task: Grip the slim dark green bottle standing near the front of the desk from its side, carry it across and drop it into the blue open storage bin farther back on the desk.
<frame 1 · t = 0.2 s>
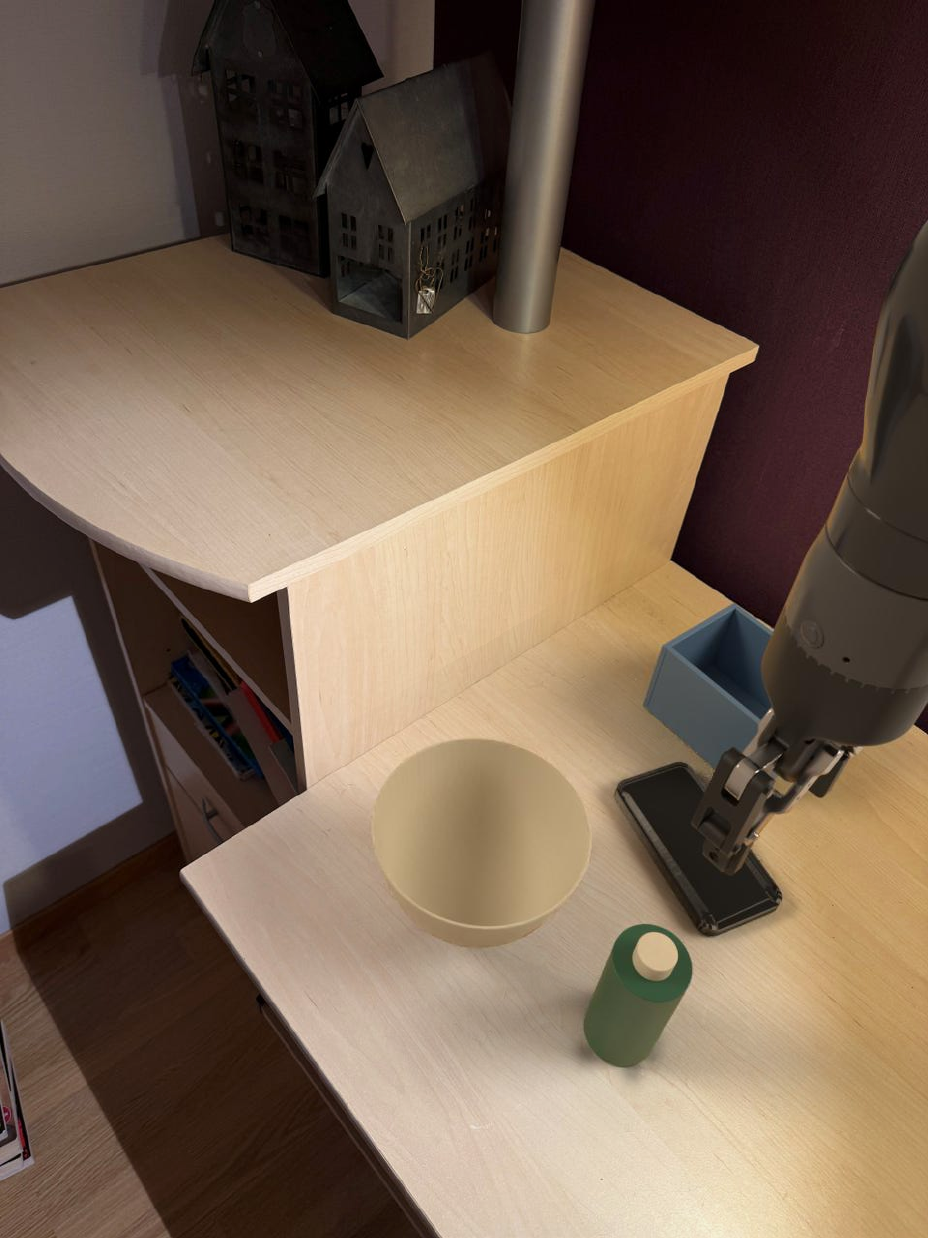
hand: (766, 821, 53), 23 cm above the table, tool pointing down, fingers open, 8 cm apart
bottle: (618, 1029, 66), on the table
phone: (692, 847, 77), on the table
bowl: (470, 894, 73), on the table
blue open storage bin: (728, 726, 87), on the table
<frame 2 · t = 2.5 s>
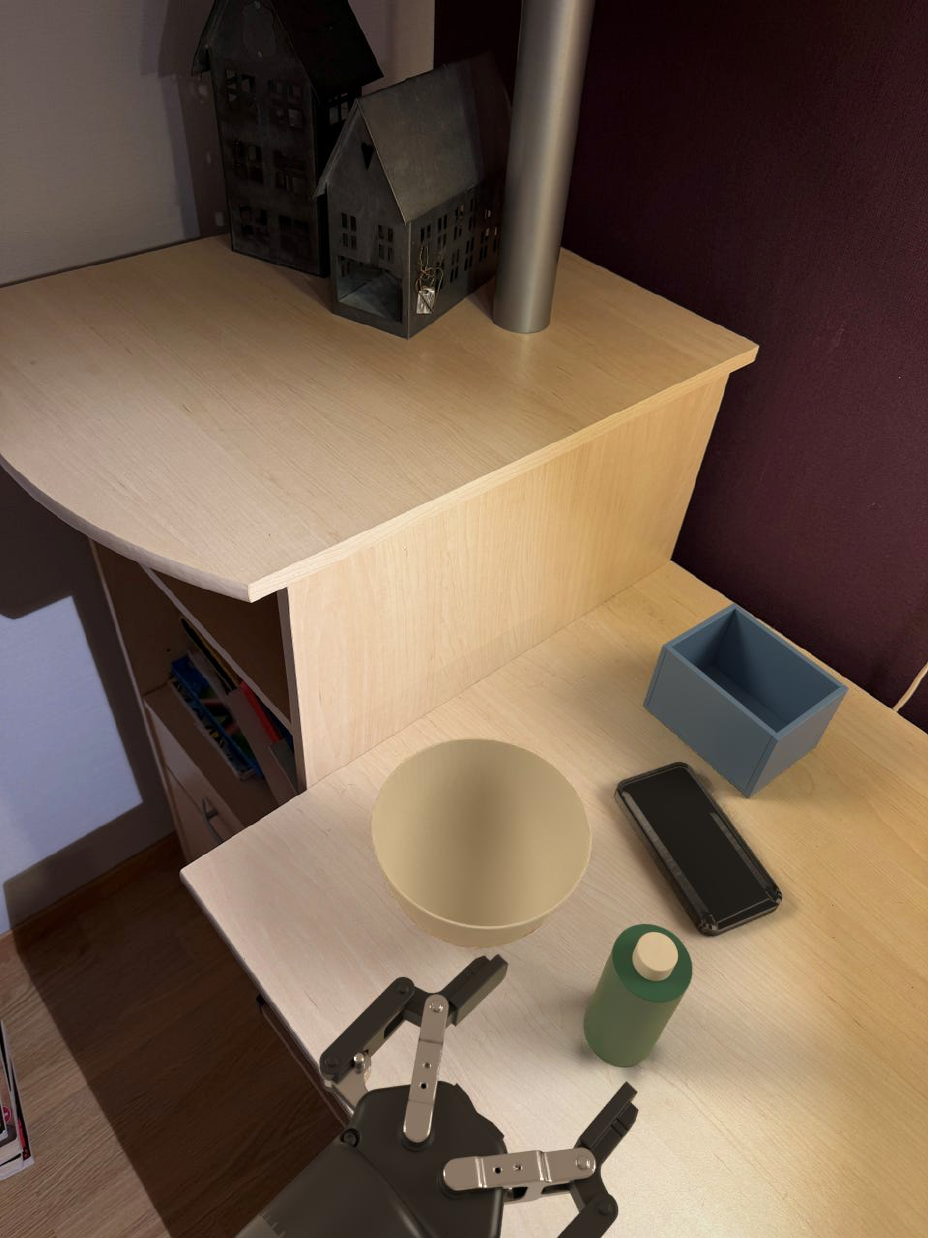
hand: (562, 1025, 46), 20 cm above the table, tool horizontal, fingers open, 8 cm apart
nothing on the table moved.
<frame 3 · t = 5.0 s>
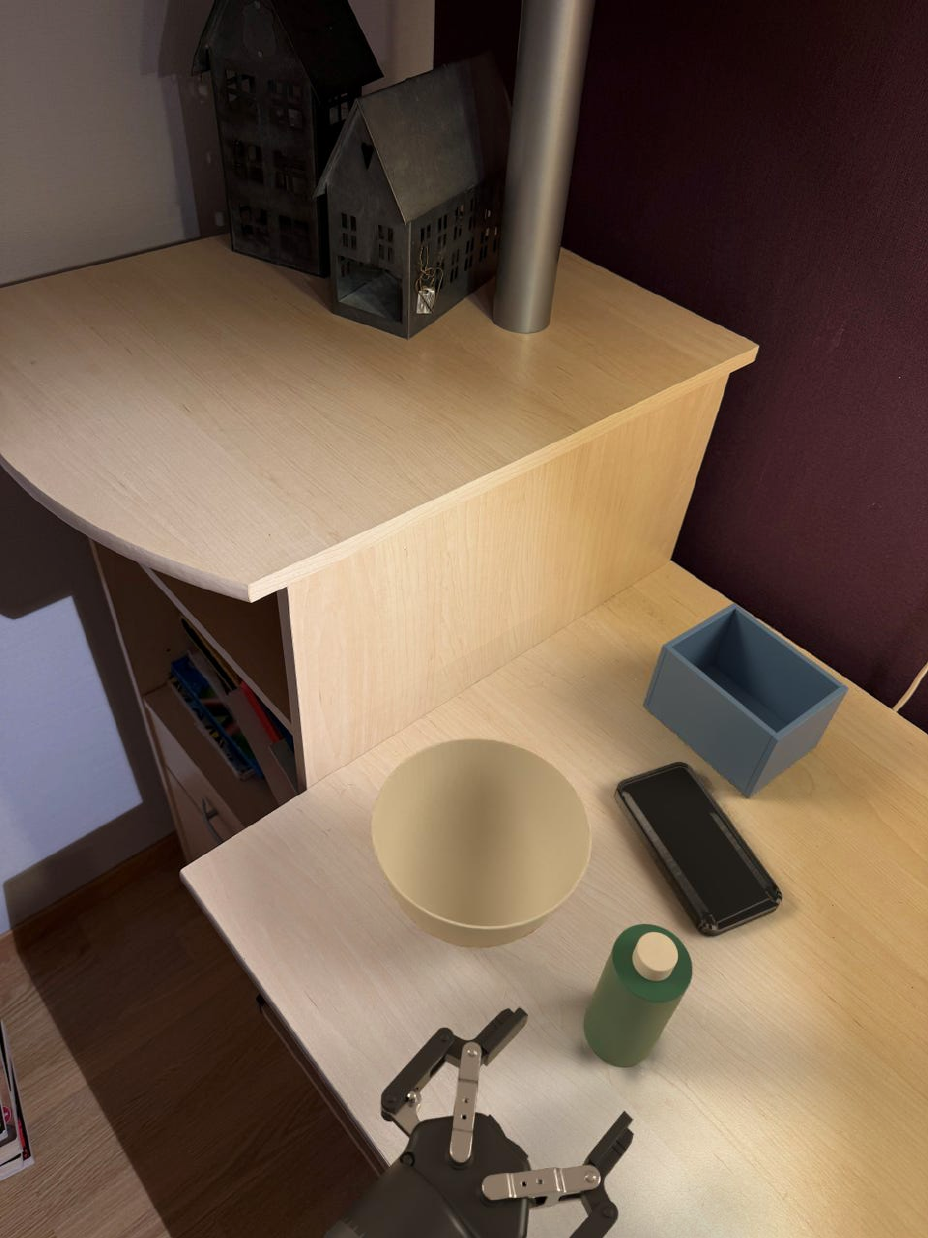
hand: (572, 1065, 57), 7 cm above the table, tool horizontal, fingers open, 8 cm apart
nothing on the table moved.
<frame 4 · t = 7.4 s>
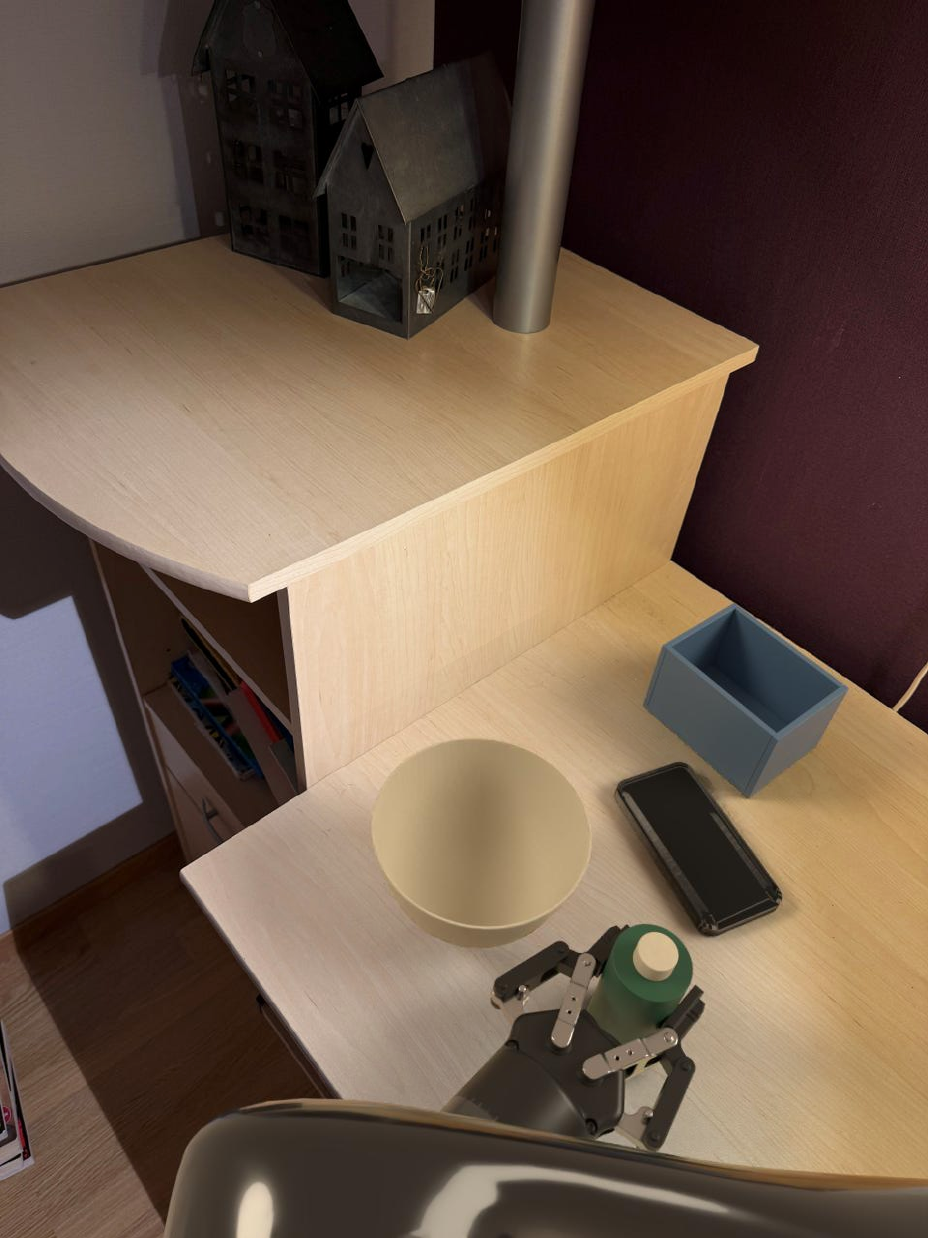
hand: (661, 962, 62), 7 cm above the table, tool horizontal, fingers closed on bottle, 5 cm apart
bottle: (618, 1029, 66), on the table, touching gripper
everything else where it was.
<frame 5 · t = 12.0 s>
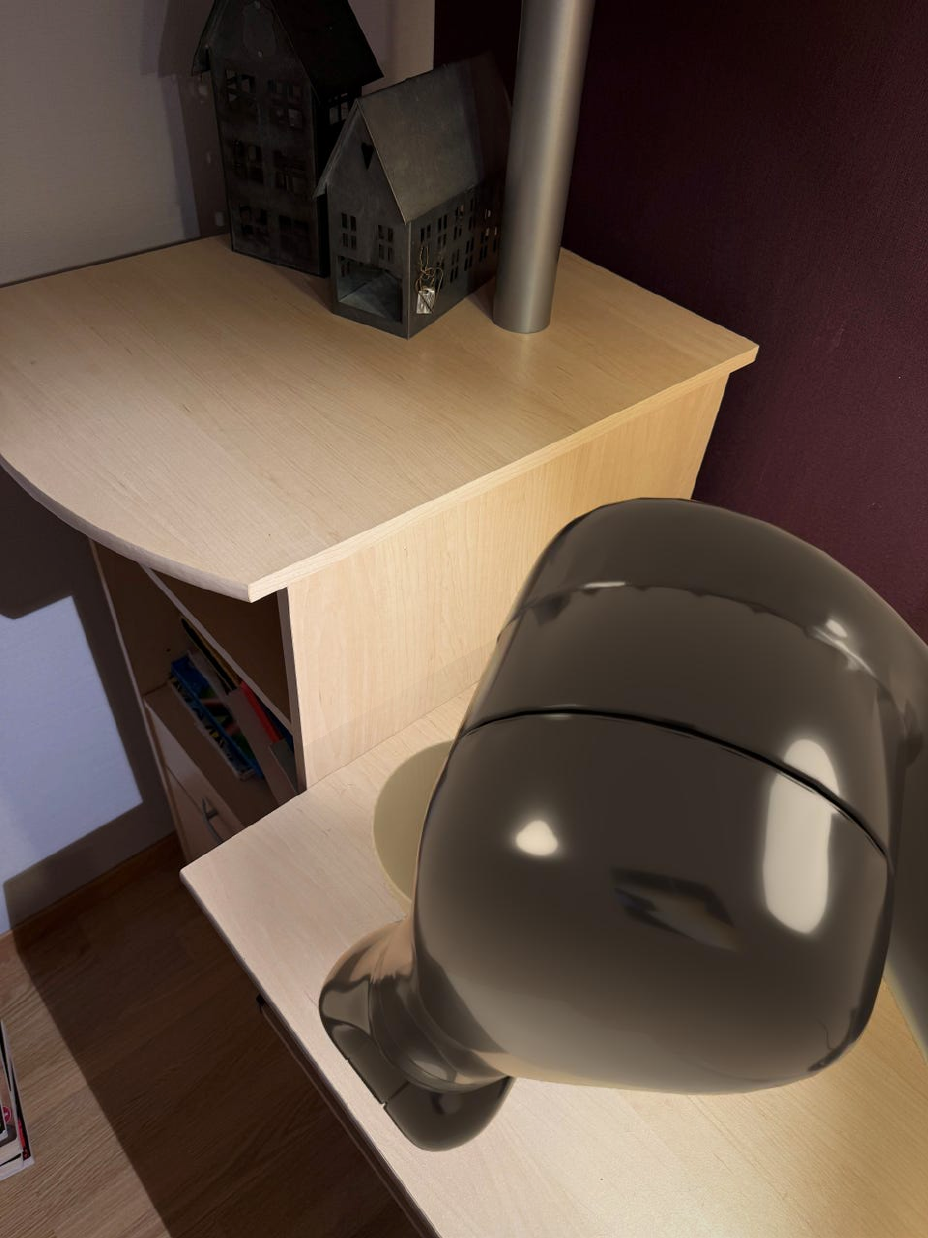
hand: (764, 693, 63), 20 cm above the table, tool horizontal, fingers closed on bottle, 5 cm apart
bottle: (717, 773, 67), point 13 cm above the table, touching gripper
everything else where it was.
when the fingers open (14 cm above the table, at t = 16.7 s): bottle drops 6 cm, resting on blue open storage bin.
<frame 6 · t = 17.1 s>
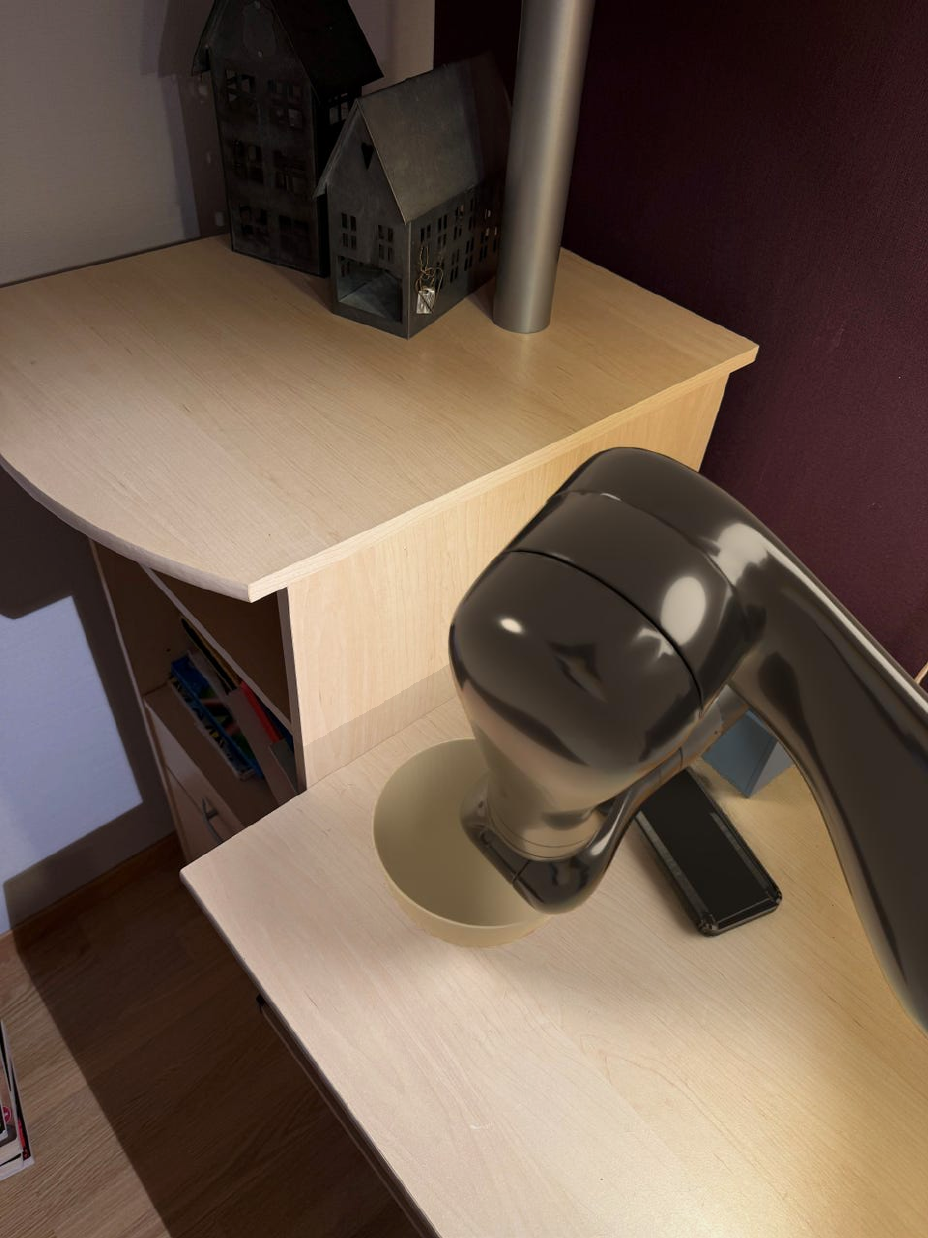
hand: (785, 612, 78), 14 cm above the table, tool horizontal, fingers open, 8 cm apart
bottle: (728, 720, 87), point 1 cm above the table, tilted 8°, touching blue open storage bin
everything else where it was.
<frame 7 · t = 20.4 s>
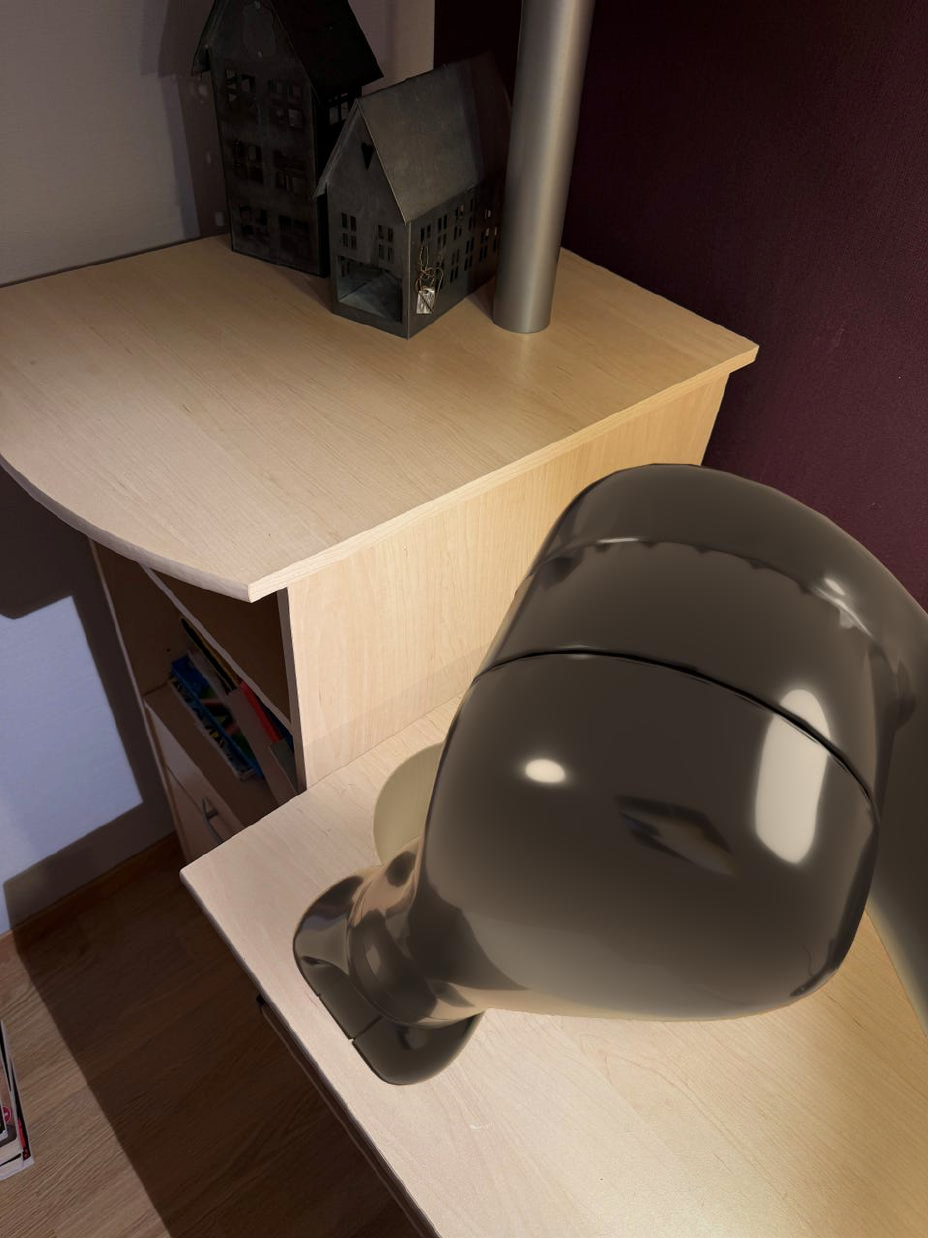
hand: (735, 664, 64), 21 cm above the table, tool horizontal, fingers open, 8 cm apart
bottle: (727, 722, 87), resting on blue open storage bin
everything else where it was.
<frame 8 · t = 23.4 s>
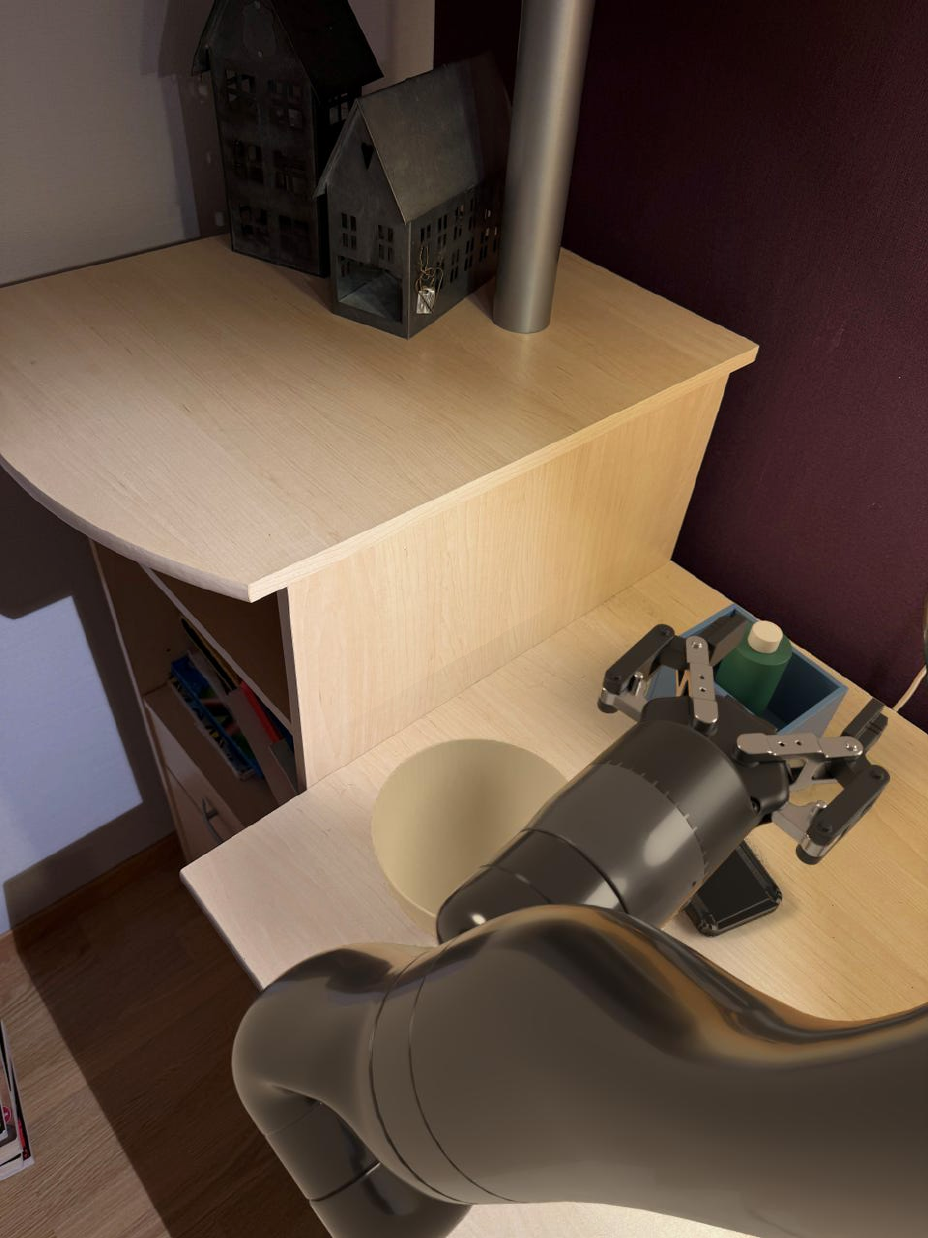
hand: (804, 666, 51), 30 cm above the table, tool horizontal, fingers open, 8 cm apart
nothing on the table moved.
at the end: bottle inside the target area in the blue open storage bin (0.2 cm from its centre), point 0.5 cm above the blue open storage bin's base; the gripper is holding nothing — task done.
